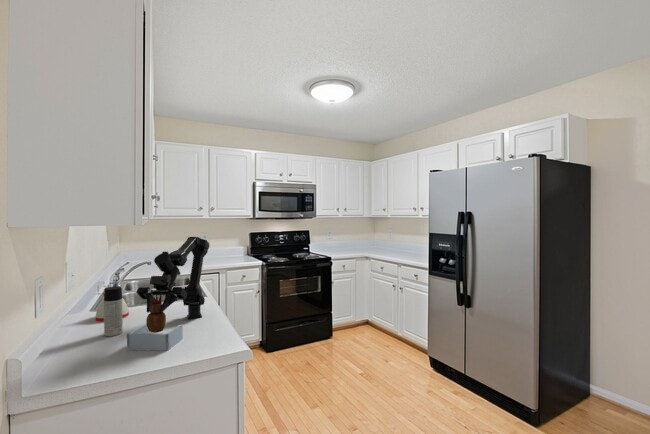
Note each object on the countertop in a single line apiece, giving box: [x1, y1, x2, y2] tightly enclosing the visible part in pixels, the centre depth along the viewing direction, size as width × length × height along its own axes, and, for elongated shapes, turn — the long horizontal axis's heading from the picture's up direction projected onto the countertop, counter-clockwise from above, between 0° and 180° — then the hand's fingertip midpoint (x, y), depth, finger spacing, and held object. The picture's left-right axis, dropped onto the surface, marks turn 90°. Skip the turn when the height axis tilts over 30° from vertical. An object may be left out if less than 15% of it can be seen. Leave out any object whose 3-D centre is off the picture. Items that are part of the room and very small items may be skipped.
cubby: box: [126, 323, 183, 351], centre depth 126 cm, size 11×16×6 cm
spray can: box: [103, 285, 124, 337], centre depth 138 cm, size 7×7×20 cm
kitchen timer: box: [95, 292, 130, 323], centre depth 161 cm, size 14×14×15 cm
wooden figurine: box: [145, 294, 167, 333], centre depth 127 cm, size 7×6×15 cm
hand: (154, 312), depth 125 cm, fingers closed on wooden figurine, 5 cm apart
